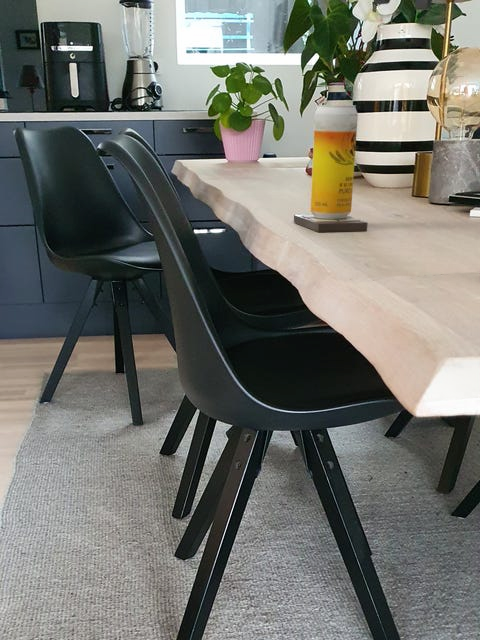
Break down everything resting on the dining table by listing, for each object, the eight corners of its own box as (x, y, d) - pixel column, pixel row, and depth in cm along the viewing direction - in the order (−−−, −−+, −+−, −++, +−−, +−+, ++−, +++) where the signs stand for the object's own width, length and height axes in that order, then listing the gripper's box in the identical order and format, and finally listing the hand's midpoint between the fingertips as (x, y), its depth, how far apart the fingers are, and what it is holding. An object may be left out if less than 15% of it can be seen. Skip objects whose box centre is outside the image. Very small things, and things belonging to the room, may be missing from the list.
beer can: (346, 220, 116) (353, 105, 109) (305, 218, 118) (310, 104, 111) (354, 215, 121) (362, 105, 115) (315, 213, 123) (320, 105, 116)
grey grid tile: (293, 222, 124) (294, 213, 123) (339, 221, 126) (339, 212, 125) (318, 232, 115) (318, 222, 114) (367, 231, 116) (367, 221, 116)
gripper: (404, -167, 91) (390, 0, 99) (475, -143, 100) (458, 9, 107) (354, -154, 96) (345, 4, 104) (426, -132, 105) (413, 13, 112)
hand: (402, 6), depth 105 cm, fingers open, 8 cm apart
